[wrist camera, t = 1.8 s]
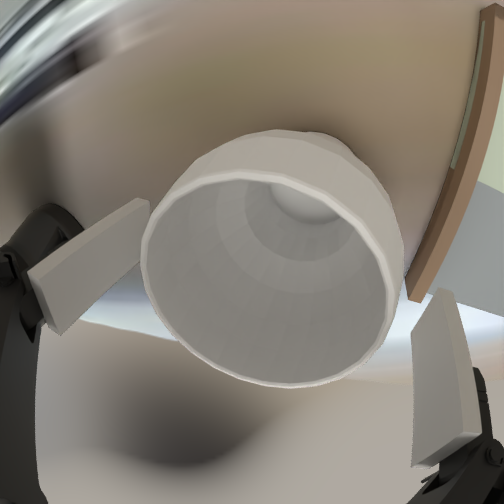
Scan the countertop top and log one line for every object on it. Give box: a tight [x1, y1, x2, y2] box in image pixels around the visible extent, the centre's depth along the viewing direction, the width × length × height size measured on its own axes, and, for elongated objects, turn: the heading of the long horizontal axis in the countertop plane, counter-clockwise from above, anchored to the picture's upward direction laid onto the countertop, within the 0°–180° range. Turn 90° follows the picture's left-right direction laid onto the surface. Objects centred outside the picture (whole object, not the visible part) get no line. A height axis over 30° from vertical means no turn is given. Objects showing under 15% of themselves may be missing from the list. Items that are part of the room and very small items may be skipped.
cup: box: [140, 129, 404, 388], centre depth 17 cm, size 11×11×15 cm
